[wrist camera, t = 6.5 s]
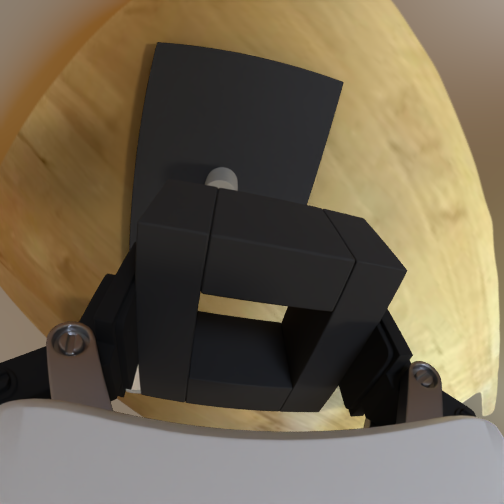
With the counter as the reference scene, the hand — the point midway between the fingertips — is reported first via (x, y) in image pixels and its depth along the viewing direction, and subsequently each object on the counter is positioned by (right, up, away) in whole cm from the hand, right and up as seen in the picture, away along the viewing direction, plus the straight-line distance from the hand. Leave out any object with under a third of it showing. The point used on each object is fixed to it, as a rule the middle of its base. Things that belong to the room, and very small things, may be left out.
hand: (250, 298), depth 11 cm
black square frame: (0, 0, +1) cm, 1 cm away
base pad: (-2, +8, +13) cm, 15 cm away
